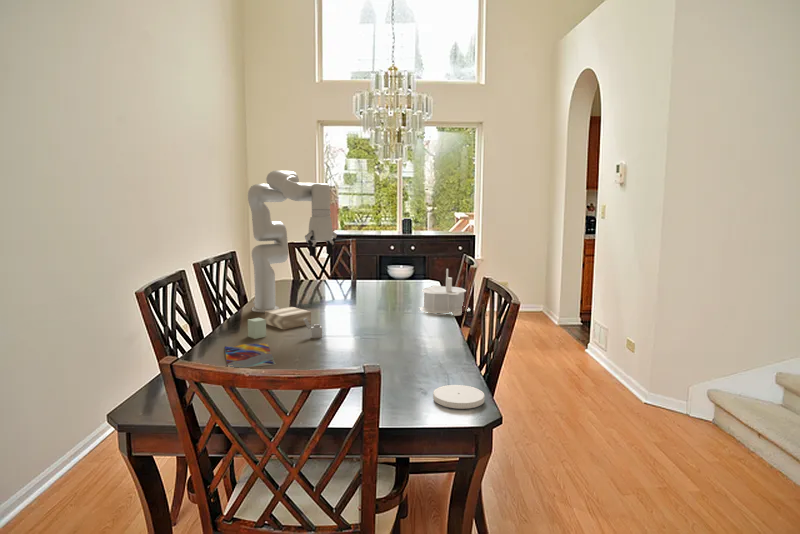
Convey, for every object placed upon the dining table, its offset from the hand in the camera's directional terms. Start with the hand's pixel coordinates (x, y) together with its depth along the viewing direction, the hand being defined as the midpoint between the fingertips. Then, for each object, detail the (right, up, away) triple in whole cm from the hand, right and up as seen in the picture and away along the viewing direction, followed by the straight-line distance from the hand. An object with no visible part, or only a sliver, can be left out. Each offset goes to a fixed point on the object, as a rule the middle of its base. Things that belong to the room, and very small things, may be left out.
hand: (321, 255), depth 231 cm
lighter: (-1, -33, -13) cm, 36 cm away
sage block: (-23, -33, -13) cm, 42 cm away
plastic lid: (+49, -43, -78) cm, 101 cm away
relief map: (-20, -37, -38) cm, 57 cm away
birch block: (-15, -30, +8) cm, 35 cm away
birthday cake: (+54, -27, +40) cm, 73 cm away
